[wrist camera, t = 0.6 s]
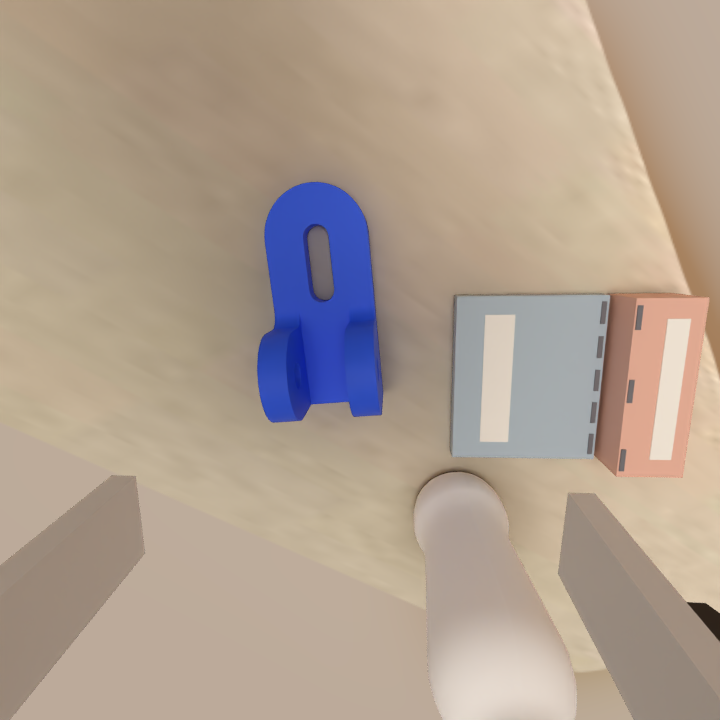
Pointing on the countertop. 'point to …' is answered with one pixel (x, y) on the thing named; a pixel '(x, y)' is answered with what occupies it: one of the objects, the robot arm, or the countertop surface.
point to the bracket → (319, 310)
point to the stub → (649, 382)
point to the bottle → (485, 612)
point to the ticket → (527, 375)
